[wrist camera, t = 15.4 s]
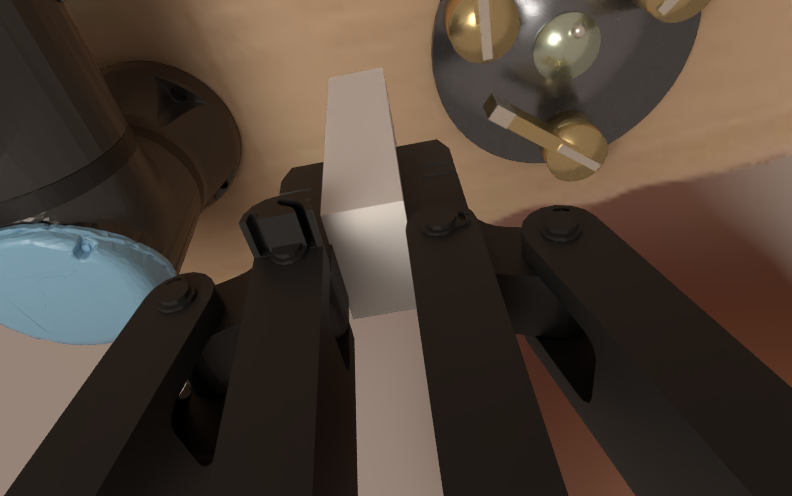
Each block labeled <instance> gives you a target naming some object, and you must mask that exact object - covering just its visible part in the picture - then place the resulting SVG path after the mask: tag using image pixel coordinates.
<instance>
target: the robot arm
mask: <svg viewBox="0 0 792 496" xmlns="http://www.w3.org/2000/svg"><path fill="white" fill-rule="evenodd" d="M63 2H65V0H0V324H2V325H4V326H6V327H8V328H10V329H12V330H14V331H17V332H20V333H22V334H25V335H28V336H31V337H34V338H38V339H45V340H50V341H53V342H57V343H63V344H74V345H96V344H106V343H111V342H113V343H112V345H111V346H110V348H109V349H108V350H107V352H106V353H105V355H104V356H103V357H102V359H101V360H100V362H99V363H98V365H97V366H96V367H95V369H94V370H93V372H92V373H91V374H90V376H89V377H88V379H87V380H86V381H85V383H84V384H83V385H82V387H81V388H80V390H79V391H78V392H77V394H76V395H75V397H74V398H73V399H72V401H71V402H70V404H69V405H68V407H67V408H66V409H65V411H64V412H63V414H62V415H61V416H60V418H59V419H58V421H57V422H56V423H55V425H54V426H53V428H52V429H51V430H50V432H49V433H48V435H47V436H46V437H45V439H44V440H43V442H42V443H41V445H40V446H39V447H38V449H37V450H36V452H35V453H34V454H33V456H32V457H31V459H30V460H29V461H28V463H27V464H26V465H25V467H24V468H23V470H22V471H21V473H20V474H19V475H18V477H17V478H16V480H15V481H14V482H13V484H12V485H11V487H10V488H9V489H8V491H7V492H6V494H5V495H4V496H358V485H357V439H356V396H355V395H356V394H355V352H354V351H355V349H354V336H353V333H352V329H351V326H350V323H349V307H350V310H351V313H352V317H353V319H356V318H363V317H368V316H374V315H380V314H385V313H392V312H397V311H403V310H409V309H415V308H417V313H418V321H419V328H420V335H421V342H422V349H423V356H424V363H425V369H426V376H427V383H428V390H429V397H430V404H431V411H432V418H433V425H434V431H435V439H436V446H437V453H438V460H439V467H440V474H441V480H442V487H443V494H444V496H568V493H567V490H566V487H565V484H564V481H563V478H562V475H561V472H560V469H559V466H558V463H557V460H556V457H555V454H554V450H553V448H552V444H551V442H550V438H549V435H548V432H547V429H546V426H545V423H544V420H543V417H542V414H541V411H540V408H539V405H538V403H537V399H536V396H535V393H534V390H533V387H532V384H531V381H530V378H529V375H528V372H527V369H526V366H525V363H524V360H523V356H522V353H521V350H520V347H519V344H518V341H517V338H516V335H515V334H522V335H525V338H526V340H527V342H528V344H529V345H530V346H531V348H532V349H533V351H534V352H535V353H536V355H537V356H538V358H539V359H540V360H541V362H542V363H543V365H544V366H545V368H546V369H547V371H548V372H549V373H550V375H551V376H552V378H553V379H554V380H555V382H556V383H557V385H558V386H559V388H560V389H561V390H562V392H563V393H564V395H565V396H566V397H567V399H568V400H569V402H570V403H571V405H572V406H573V407H574V409H575V410H576V412H577V413H578V414H579V416H580V417H581V419H582V420H583V422H584V423H585V424H586V426H587V427H588V429H589V430H590V431H591V433H592V434H593V436H594V437H595V439H596V440H597V442H598V443H599V444H600V446H601V447H602V448H603V450H604V451H605V453H606V454H607V456H608V457H609V459H610V460H611V461H612V463H613V464H614V466H615V467H616V468H617V470H618V471H619V473H620V474H621V475H622V477H623V478H624V480H625V481H626V483H627V484H628V486H629V487H630V488H631V489H632V491H633V493H634V494H635V495H636V496H792V388H791V387H790V386H789V385H788V384H787V383H786V382H785V381H783V380H782V379H781V378H780V377H779V376H778V375H776V374H775V373H774V372H773V371H772V370H771V369H770V368H769V367H767V366H766V365H765V364H764V363H763V362H762V361H760V360H759V359H758V358H757V357H756V356H755V355H754V354H753V353H751V352H750V351H749V350H748V349H747V348H746V347H744V346H743V345H742V344H741V343H740V342H738V340H737V339H735V338H734V337H733V336H732V335H731V334H730V333H729V332H727V331H726V330H725V329H724V328H723V327H722V326H721V325H719V324H718V323H717V322H716V321H715V320H714V319H713V318H711V317H710V316H709V315H708V314H707V313H706V312H705V311H703V310H702V309H701V308H700V307H699V306H697V304H695V303H694V302H693V301H692V300H691V299H690V298H688V297H687V296H686V295H685V294H684V293H683V292H682V291H680V290H679V289H678V288H677V287H676V286H675V285H674V284H673V283H671V282H670V281H669V280H668V279H667V278H666V277H665V276H663V275H662V274H661V273H660V272H659V271H658V270H656V269H655V268H654V267H653V266H652V265H651V264H650V263H648V262H647V261H646V260H645V259H644V258H643V257H642V256H640V255H639V254H638V253H637V252H636V251H635V250H634V249H633V248H631V247H630V246H629V245H628V244H627V243H626V242H625V241H623V240H622V239H621V238H620V237H619V236H618V235H616V234H615V233H614V232H613V231H612V230H610V228H609V227H607V226H606V225H605V224H604V223H603V222H602V221H600V220H599V219H598V218H597V217H596V216H595V215H593V214H591V213H590V212H588V211H586V210H585V209H581V208H577V207H574V206H565V205H554V206H549V207H544V208H540V209H538V210H536V211H534V212H532V213H531V214H529V215H528V216H527V218H526V219H525V220H524V221H523V224H522V228H519V227H502V226H494V225H491V224H487V223H484V222H482V221H480V220H478V219H477V218H476V216H475V215H474V213H473V212H472V210H470V209H469V208H468V206H467V203H466V199H465V196H464V193H463V190H462V187H461V184H460V181H459V178H458V175H457V173H456V168H455V165H454V163H453V159H452V156H451V153H450V150H449V148H448V147H447V146H445V145H444V144H443V143H441V142H440V141H439V140H437V139H436V140H431V141H425V142H420V143H415V144H409V145H404V146H399V147H397V143H396V138H395V132H394V127H393V121H392V116H391V111H390V105H389V100H388V94H387V89H386V84H385V78H384V73H383V67H381V68H376V69H371V70H365V71H360V72H355V73H350V74H345V75H340V76H334V77H329V85H328V101H327V117H326V133H325V149H324V162H321V163H316V164H311V165H305V166H300V167H295V168H292V169H291V170H290V171H289V172H288V174H287V175H286V176H285V177H284V179H283V180H282V182H281V188H280V193H279V194H280V196H277V197H273V198H270V199H266V200H264V201H262V202H260V203H258V204H256V205H254V206H253V207H251V208H250V209H249V210H248V211H247V212H246V213H245V214H244V215H243V216H242V218H241V220H240V222H239V225H240V227H241V230H242V232H243V234H244V236H245V238H246V241H247V243H248V245H249V247H250V250H251V252H252V254H253V256H254V262H253V267H252V269H250V270H249V271H247V272H246V273H243V274H241V275H239V276H237V277H235V278H232V279H230V280H228V281H225V282H223V283H220V284H218V285H215V284H214V282H213V280H212V279H211V278H210V277H208V276H207V275H206V274H202V273H196V272H192V273H185V274H180V275H179V272H180V269H181V266H182V263H183V261H184V258H185V255H186V252H187V249H188V247H189V244H190V241H191V238H192V235H193V233H194V230H195V227H196V224H197V221H198V218H199V216H200V214H201V213H202V212H203V211H205V210H206V209H207V208H208V207H210V206H211V205H212V204H213V203H215V202H216V201H217V200H218V199H219V198H221V197H222V196H223V195H224V193H225V192H226V191H227V190H228V188H229V187H230V185H231V183H232V181H233V179H234V177H235V174H236V171H237V168H238V165H239V161H240V156H241V142H240V136H239V132H238V128H237V126H236V123H235V121H234V119H233V117H232V115H231V113H230V111H229V110H228V108H227V107H226V105H225V104H224V103H223V101H222V100H221V99H220V98H219V97H218V96H217V95H216V94H215V93H214V92H213V91H212V90H211V89H210V88H209V87H208V86H206V85H205V84H204V83H202V82H201V81H200V80H198V79H196V78H195V77H193V76H192V75H190V74H188V73H186V72H184V71H182V70H179V69H177V68H174V67H171V66H168V65H165V64H161V63H155V62H148V61H131V62H124V63H119V64H115V65H113V66H110V67H108V68H105V69H104V70H102V71H100V69H99V67H98V66H97V64H96V62H95V60H94V58H93V57H92V55H91V53H90V51H89V49H88V48H87V46H86V44H85V42H84V40H83V38H82V37H81V35H80V33H79V31H78V29H77V28H76V26H75V24H74V22H73V20H72V19H71V17H70V15H69V13H68V11H67V9H66V8H65V6H64V4H63ZM185 383H187V384H186V386H185V388H184V390H183V391H182V392H181V390H182V389H183V387H184V385H185ZM180 392H181V394H180ZM179 394H180V395H179Z"/></svg>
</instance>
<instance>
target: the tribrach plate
mask: <svg viewBox="0 0 792 496" xmlns="http://www.w3.org/2000/svg"><path fill="white" fill-rule="evenodd" d="M512 1H513V2H514V4H515V5H516V7H517V10H518V13H519V18H520V27H519V32H518V35H517V38H516V40H515V42H514V44H513V45H512V47H511V48H510V49H509V50H508V51H507V52H506V53H505V54H504V55H503V56H501V57H500V58H498V59H496V60H494V61H492V62H488V63H473V62H469V61H467V60H465V59H463V58H462V57H461V56H460V55H459V54H458V53H457V52H456V51H455V49H454V47H453V45H452V43H451V41H450V39H449V37H448V35H447V32H446V30H445V28H444V24H443V9H444V5H445V2H446V0H440V3H439V6H438V10H437V13H436V16H435V21H434V27H433V33H432V46H431V57H432V70H433V75H434V79H435V84H436V87H437V90H438V93H439V96H440V99H441V101H442V104H443V106H444V108H445V110H446V112H447V113H448V115H449V117H450V119H451V120H452V121H453V123H454V124H455V125H456V127H457V128H458V129H459V130H460V131H461V132H462V133H463V134H464V135H465V136H466V137H467V138H468V139H469V140H470V141H472V142H473V143H475V144H476V145H477V146H479V147H480V148H482V149H484V150H486V151H488V152H489V153H491V154H494V155H496V156H499V157H502V158H505V159H509V160H513V161H518V162H526V163H546V162H545V160H544V159H543V157H542V155H541V153H540V152H539V150H538V147H537V144H536V143H534V142H532V141H530V140H528V139H526V138H525V137H523V136H521V135H519V134H517V133H515V132H513V131H511V130H509V129H506V128H504V127H502V126H500V125H498V124H496V123H494V122H492V121H490V120H489V119H488V118H487V116H486V113H485V111H484V109H483V107H482V106H483V105H484V103H485V102H486V100H487V99H488V97H489V96H490V94H491V93H493V94H495V95H497V96H499V97H501V98H503V99H504V100H506V101H508V102H509V103H510V104H512V105H514V106H516V107H518V108H519V109H521V110H523V111H525V112H527V113H529V114H530V115H532V116H534V117H536V118H538V119H540V120H541V121H543V122H546V121H547V120H548V119H549V118H550V117H552V116H553V115H555V114H557V113H559V112H562V111H567V110H575V111H579V112H582V113H584V114H585V115H586V116H587V117H588V118H589V119H590V120H591V121H592V123H593V124H594V125H595V126H596V128H597V129H598V130H599V131H600V132H601V134H602V135H603V136H604V138H605V139H606V141H607V144H609V143H611V142H612V141H614V140H616V139H617V138H619V137H621V136H622V135H624V134H625V133H626V132H628V131H629V130H630V129H632V128H633V127H634V126H636V125H637V124H638V123H639V122H640V121H641V120H642V119H643V118H645V117H646V116H647V115H648V114H649V113H650V112H651V111H652V110H653V109H654V108H655V106H656V105H657V104H658V103H659V102H660V101H661V100H662V99H663V97H664V96H665V95H666V93H667V92H668V91H669V89H670V88H671V87H672V85H673V84H674V82H675V80H676V79H677V77H678V75H679V74H680V72H681V71H682V69H683V67H684V64H685V62H686V60H687V58H688V56H689V54H690V52H691V49H692V46H693V43H694V40H695V38H696V35H697V30H698V26H699V22H700V17H701V11H700V12H699V13H697V14H696V15H694V16H693V17H691V18H689V19H687V20H684V21H681V22H677V23H667V22H663V21H661V20H659V19H657V18H656V17H654V16H653V15H651V14H649V13H648V12H646V11H645V10H643V9H642V8H640V7H638V6H637V5H635V4H634V3H633V2H632V0H512Z"/></svg>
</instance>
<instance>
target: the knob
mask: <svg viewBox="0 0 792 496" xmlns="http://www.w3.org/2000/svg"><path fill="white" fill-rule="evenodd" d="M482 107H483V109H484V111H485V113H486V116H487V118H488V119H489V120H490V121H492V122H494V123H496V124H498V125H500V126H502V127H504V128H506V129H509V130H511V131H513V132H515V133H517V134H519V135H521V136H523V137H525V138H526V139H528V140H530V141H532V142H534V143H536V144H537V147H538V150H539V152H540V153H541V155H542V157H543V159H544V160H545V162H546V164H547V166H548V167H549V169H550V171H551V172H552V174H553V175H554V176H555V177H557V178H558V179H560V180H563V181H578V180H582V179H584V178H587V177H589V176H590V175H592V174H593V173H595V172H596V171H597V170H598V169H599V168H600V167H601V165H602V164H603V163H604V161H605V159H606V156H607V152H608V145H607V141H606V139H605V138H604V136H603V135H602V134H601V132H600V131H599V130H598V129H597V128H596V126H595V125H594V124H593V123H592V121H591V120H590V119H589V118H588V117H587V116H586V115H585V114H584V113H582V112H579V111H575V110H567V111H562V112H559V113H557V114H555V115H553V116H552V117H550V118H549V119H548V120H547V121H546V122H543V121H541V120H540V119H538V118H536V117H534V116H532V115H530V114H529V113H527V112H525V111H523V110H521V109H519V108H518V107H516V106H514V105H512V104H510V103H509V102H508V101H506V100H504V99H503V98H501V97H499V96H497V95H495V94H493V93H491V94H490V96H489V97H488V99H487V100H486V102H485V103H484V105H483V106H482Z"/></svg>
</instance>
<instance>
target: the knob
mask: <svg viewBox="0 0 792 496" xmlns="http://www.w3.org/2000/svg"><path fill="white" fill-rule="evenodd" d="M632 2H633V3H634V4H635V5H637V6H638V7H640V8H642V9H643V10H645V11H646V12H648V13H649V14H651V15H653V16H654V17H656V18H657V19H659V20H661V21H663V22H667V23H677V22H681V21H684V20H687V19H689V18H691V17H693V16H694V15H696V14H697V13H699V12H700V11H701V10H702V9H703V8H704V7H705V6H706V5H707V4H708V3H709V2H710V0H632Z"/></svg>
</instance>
